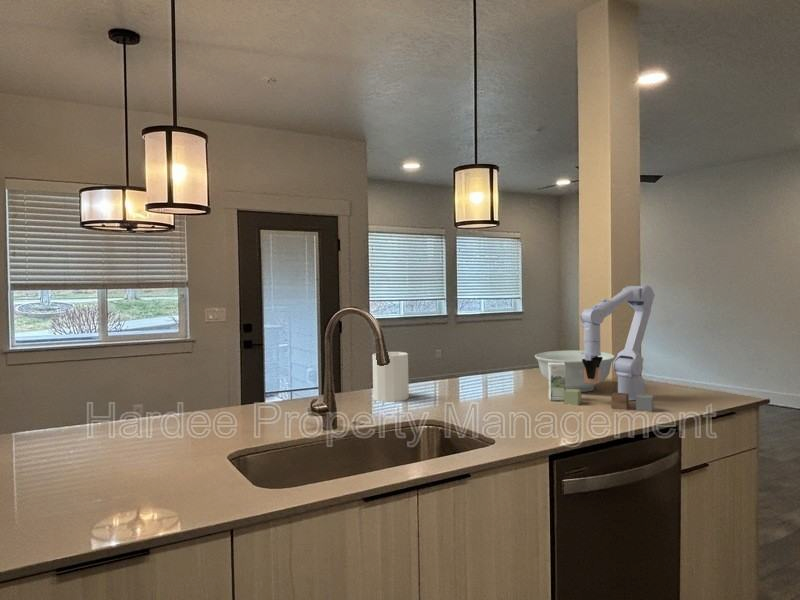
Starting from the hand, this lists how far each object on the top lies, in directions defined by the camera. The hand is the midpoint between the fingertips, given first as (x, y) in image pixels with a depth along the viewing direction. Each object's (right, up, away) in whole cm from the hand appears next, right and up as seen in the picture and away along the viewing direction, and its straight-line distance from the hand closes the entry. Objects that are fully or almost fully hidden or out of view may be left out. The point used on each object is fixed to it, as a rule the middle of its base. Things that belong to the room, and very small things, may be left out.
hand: (592, 377), depth 209 cm
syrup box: (-11, -10, +9) cm, 17 cm away
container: (-76, -11, +19) cm, 79 cm away
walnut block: (+8, -10, -7) cm, 14 cm away
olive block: (-7, -10, +2) cm, 12 cm away
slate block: (+15, -10, -11) cm, 21 cm away
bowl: (+2, -9, +29) cm, 31 cm away
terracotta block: (0, -2, 0) cm, 2 cm away
